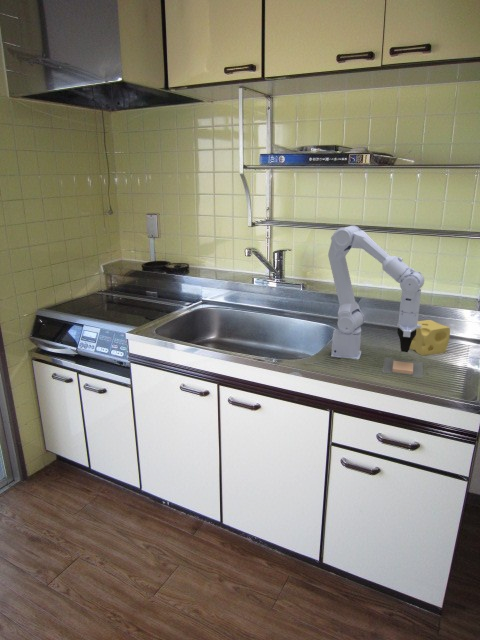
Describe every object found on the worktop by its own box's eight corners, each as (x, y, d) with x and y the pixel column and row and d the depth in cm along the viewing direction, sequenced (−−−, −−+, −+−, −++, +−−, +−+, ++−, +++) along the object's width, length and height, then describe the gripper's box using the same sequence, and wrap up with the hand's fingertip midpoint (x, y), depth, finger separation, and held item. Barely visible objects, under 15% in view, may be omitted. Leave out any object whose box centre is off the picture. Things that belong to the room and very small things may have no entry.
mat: (381, 374, 144) (382, 372, 144) (384, 359, 156) (384, 357, 156) (422, 379, 140) (422, 377, 140) (422, 364, 152) (422, 362, 152)
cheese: (421, 357, 158) (425, 330, 155) (403, 346, 168) (406, 320, 164) (447, 354, 160) (451, 327, 157) (427, 344, 170) (431, 318, 167)
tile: (393, 364, 150) (392, 372, 144) (393, 360, 150) (392, 368, 143) (412, 367, 148) (412, 375, 142) (413, 363, 148) (412, 371, 141)
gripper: (423, 318, 136) (417, 361, 140) (422, 306, 149) (417, 345, 153) (398, 316, 138) (393, 358, 142) (399, 304, 151) (395, 342, 155)
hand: (404, 351), depth 148 cm, fingers closed
